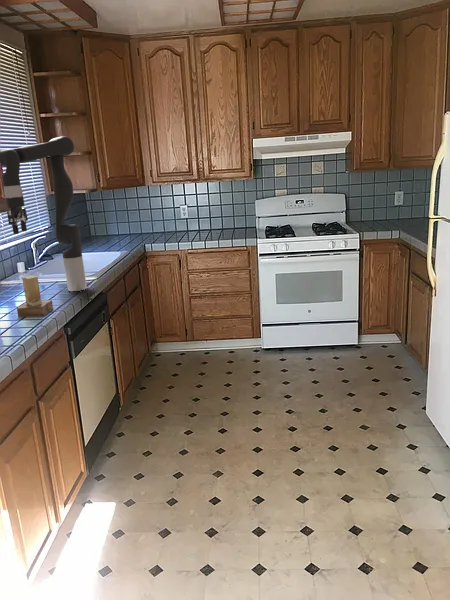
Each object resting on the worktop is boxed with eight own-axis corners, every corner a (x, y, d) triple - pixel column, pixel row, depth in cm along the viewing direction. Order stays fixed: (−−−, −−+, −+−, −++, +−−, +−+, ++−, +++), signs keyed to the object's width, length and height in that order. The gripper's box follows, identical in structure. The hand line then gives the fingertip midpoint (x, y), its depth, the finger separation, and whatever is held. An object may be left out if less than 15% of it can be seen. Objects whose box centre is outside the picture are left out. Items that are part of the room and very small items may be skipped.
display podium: (29, 310, 226) (27, 301, 225) (53, 308, 226) (51, 300, 225) (18, 317, 216) (16, 308, 215) (43, 316, 215) (42, 306, 214)
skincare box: (26, 304, 220) (21, 277, 217) (35, 302, 223) (30, 274, 220) (33, 306, 216) (28, 278, 212) (42, 304, 219) (37, 276, 215)
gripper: (13, 195, 234) (19, 231, 238) (-2, 197, 220) (5, 235, 224) (28, 194, 233) (34, 229, 238) (15, 196, 220) (21, 234, 224)
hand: (20, 232), depth 231 cm, fingers open, 8 cm apart
